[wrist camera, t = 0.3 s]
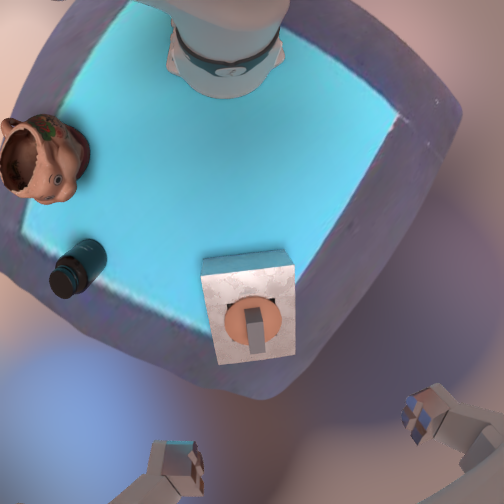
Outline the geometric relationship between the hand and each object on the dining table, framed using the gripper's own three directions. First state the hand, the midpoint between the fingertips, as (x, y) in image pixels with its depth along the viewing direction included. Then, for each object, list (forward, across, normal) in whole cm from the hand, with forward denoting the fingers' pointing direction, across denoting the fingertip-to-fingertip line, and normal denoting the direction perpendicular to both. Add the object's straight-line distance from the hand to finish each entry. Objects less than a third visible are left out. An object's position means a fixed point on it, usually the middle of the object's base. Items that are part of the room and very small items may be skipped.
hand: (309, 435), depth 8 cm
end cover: (+39, 0, +12) cm, 41 cm away
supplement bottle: (+39, +28, 0) cm, 48 cm away
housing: (+40, 0, +12) cm, 42 cm away
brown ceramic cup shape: (+37, +30, -20) cm, 52 cm away
